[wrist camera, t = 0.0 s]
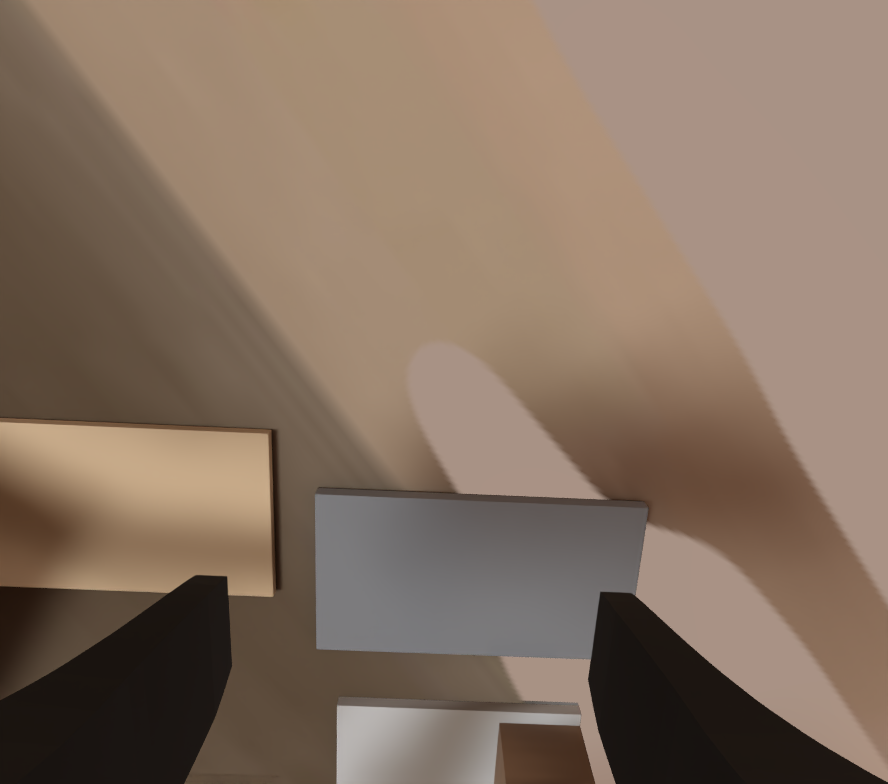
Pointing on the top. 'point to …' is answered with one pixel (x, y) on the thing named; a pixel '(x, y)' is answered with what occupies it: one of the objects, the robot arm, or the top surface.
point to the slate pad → (469, 571)
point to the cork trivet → (135, 506)
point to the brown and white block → (459, 742)
